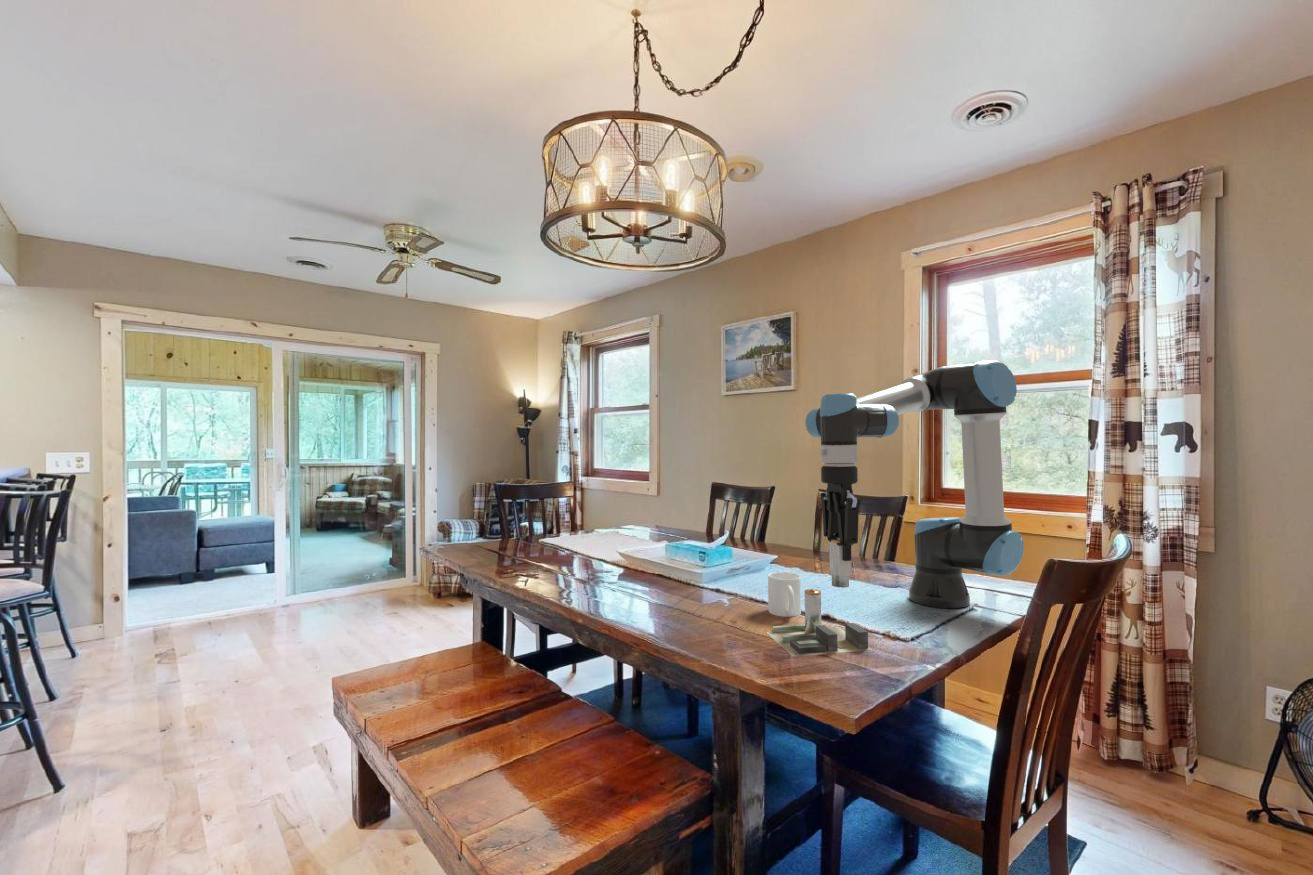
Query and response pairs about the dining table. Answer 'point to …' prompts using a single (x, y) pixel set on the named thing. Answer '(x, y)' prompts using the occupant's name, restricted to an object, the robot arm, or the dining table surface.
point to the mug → (784, 594)
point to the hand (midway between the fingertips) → (840, 573)
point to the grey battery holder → (820, 639)
